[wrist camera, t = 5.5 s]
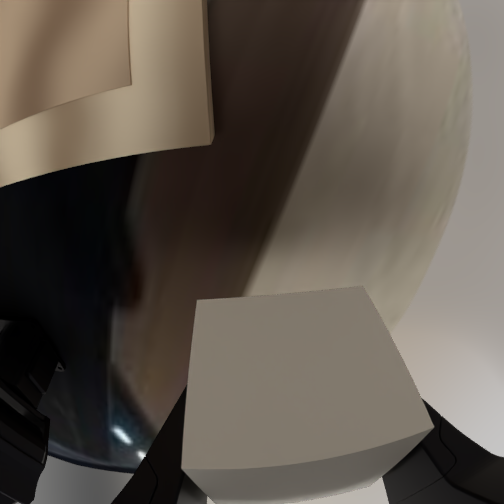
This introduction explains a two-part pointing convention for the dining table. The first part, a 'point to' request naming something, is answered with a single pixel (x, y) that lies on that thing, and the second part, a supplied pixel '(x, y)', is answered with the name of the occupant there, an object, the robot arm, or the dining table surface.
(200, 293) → the dining table surface
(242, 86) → the dining table surface
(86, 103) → the oak base
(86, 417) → the dining table surface
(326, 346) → the cream cube
